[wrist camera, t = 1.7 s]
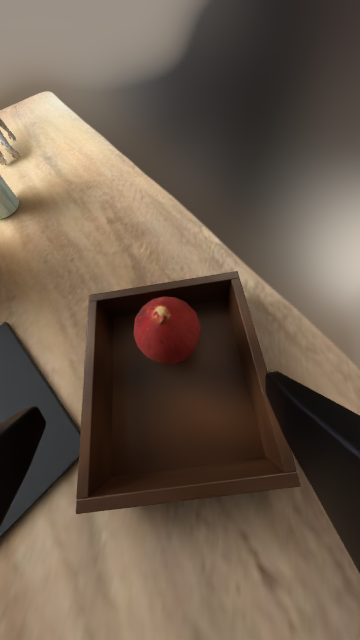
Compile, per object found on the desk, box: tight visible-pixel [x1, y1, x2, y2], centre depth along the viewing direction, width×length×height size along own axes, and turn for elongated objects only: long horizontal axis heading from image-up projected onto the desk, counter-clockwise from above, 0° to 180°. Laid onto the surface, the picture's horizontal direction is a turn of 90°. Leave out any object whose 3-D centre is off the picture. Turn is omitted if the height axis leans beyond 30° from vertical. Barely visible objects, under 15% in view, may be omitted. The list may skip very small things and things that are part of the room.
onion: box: [134, 297, 201, 364], centre depth 17 cm, size 6×6×8 cm
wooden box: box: [76, 271, 301, 514], centre depth 18 cm, size 17×15×4 cm
